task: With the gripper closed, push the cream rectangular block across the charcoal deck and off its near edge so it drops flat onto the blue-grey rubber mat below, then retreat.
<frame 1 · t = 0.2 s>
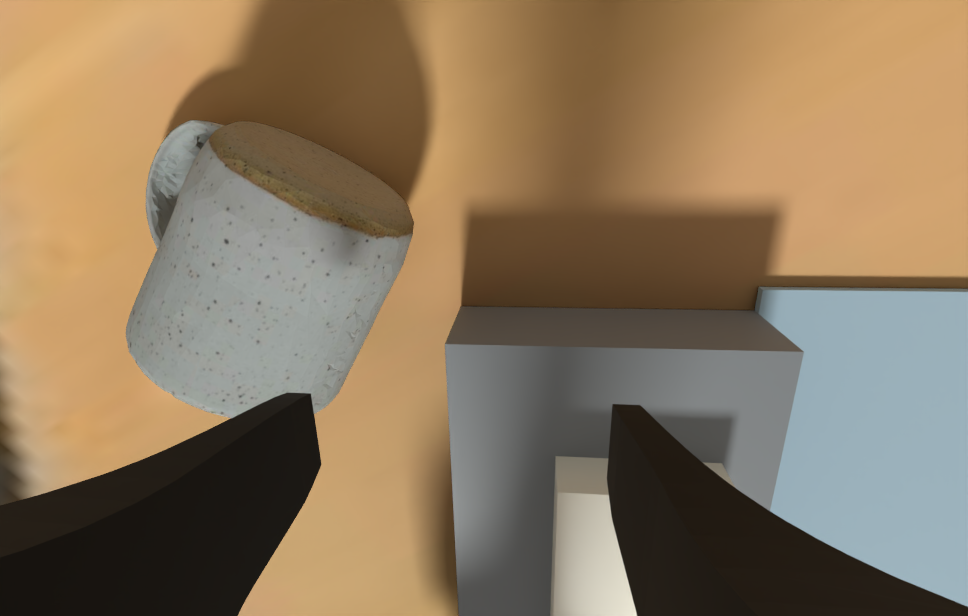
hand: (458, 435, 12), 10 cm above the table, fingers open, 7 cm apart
ceramic mug: (295, 234, 21), on the table
deck: (592, 485, 24), on the table
mat: (872, 499, 23), on the table
cream rectangular block: (628, 553, 20), point 4 cm above the table, touching deck
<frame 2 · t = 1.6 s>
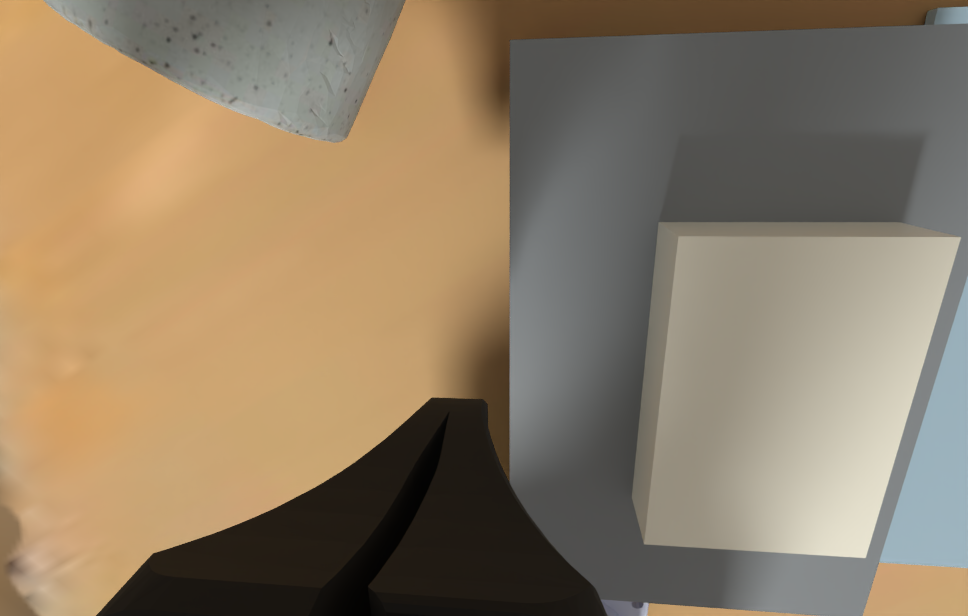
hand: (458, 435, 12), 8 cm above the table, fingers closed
deck: (677, 326, 18), on the table
cream rectangular block: (749, 376, 15), point 4 cm above the table, touching deck
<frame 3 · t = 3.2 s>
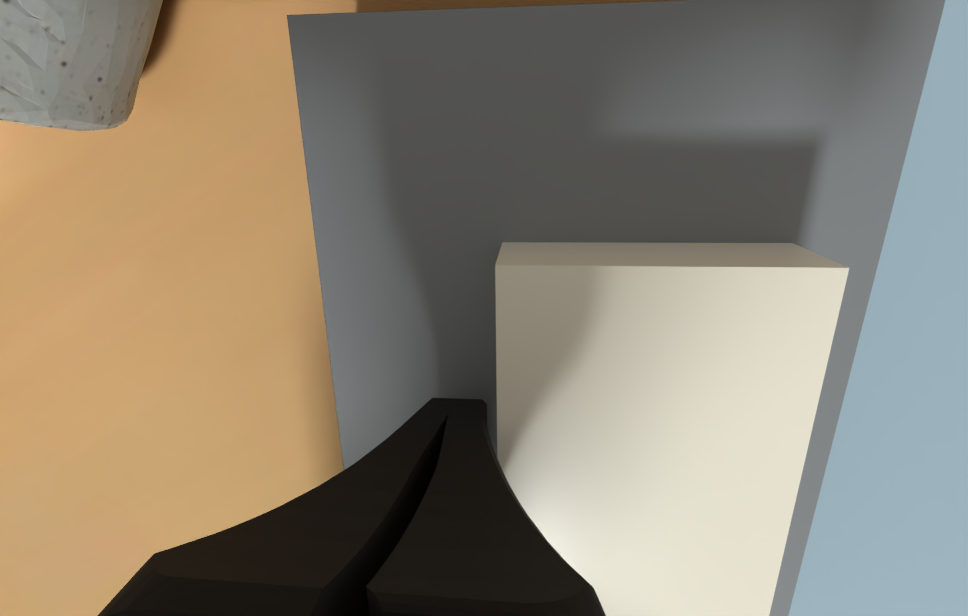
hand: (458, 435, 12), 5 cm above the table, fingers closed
deck: (565, 355, 16), on the table
cream rectangular block: (627, 425, 12), point 4 cm above the table, touching deck, gripper
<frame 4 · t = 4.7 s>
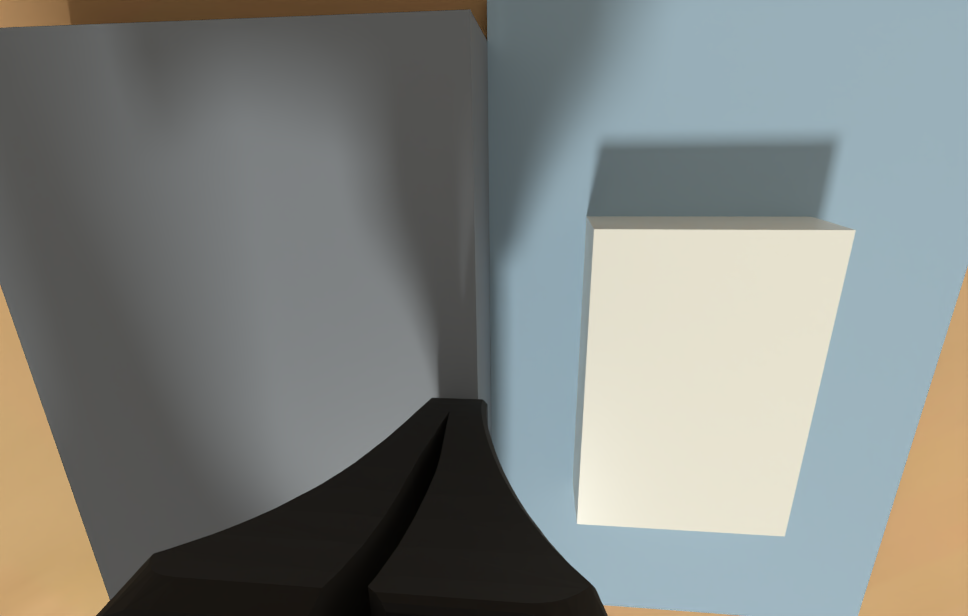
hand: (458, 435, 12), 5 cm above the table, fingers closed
deck: (314, 348, 17), on the table
mat: (699, 359, 16), on the table
cream rectangular block: (697, 396, 13), point 2 cm above the table, tilted 180°, touching mat
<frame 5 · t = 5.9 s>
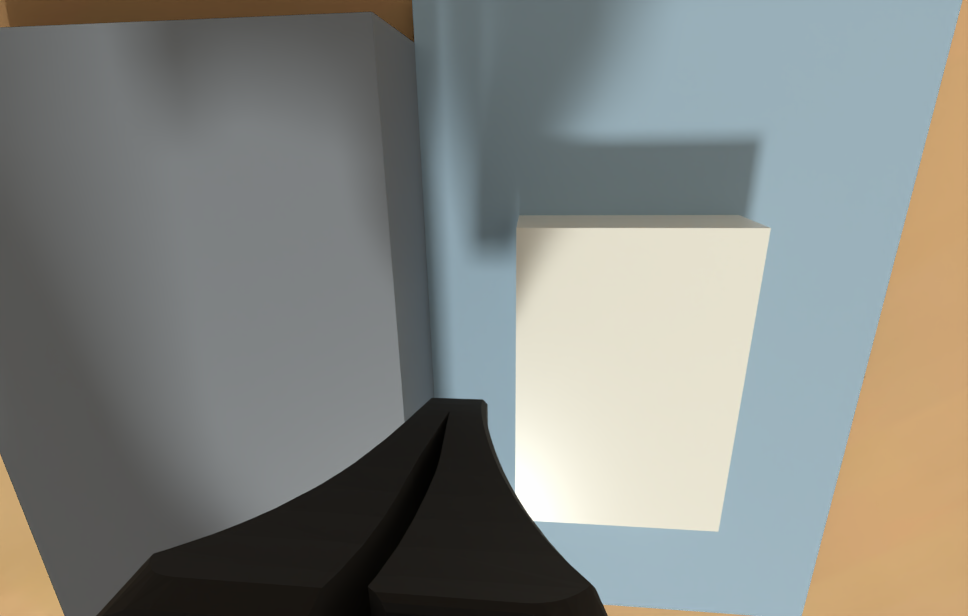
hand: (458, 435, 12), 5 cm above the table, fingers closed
deck: (260, 347, 17), on the table
mat: (637, 357, 16), on the table
cream rectangular block: (626, 393, 14), point 2 cm above the table, tilted 180°, touching mat
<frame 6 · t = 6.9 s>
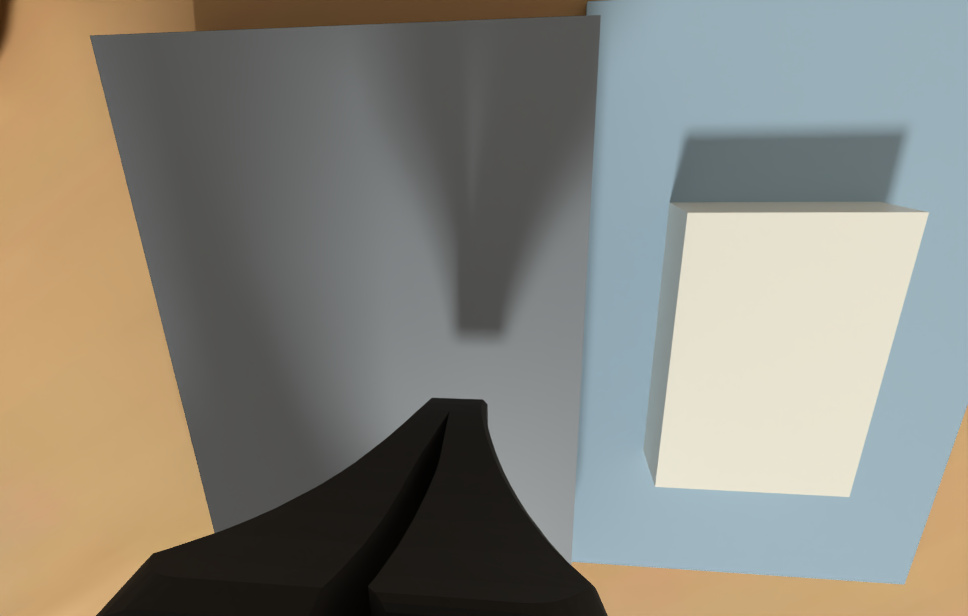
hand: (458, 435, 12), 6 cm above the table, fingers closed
deck: (404, 327, 18), on the table
mat: (766, 336, 17), on the table
cream rectangular block: (775, 366, 15), point 2 cm above the table, tilted 180°, touching mat
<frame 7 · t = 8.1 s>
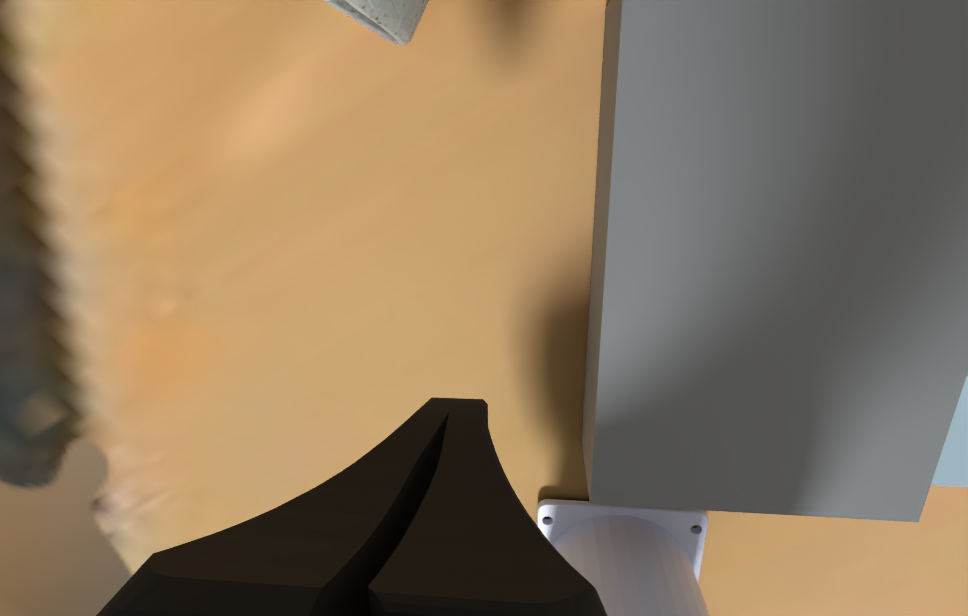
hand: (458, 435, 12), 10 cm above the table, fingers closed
deck: (744, 258, 20), on the table
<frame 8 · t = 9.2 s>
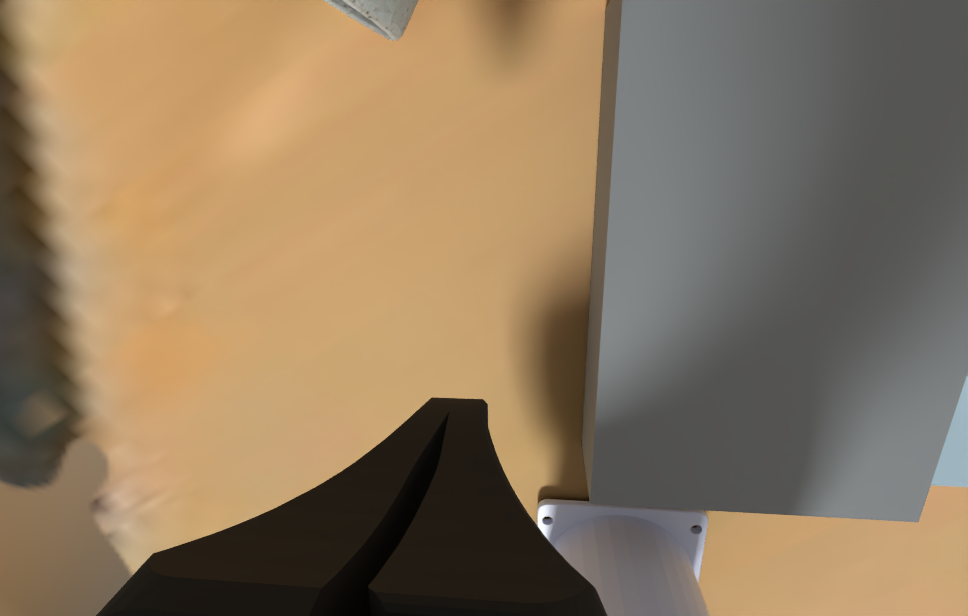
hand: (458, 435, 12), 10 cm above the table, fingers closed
deck: (744, 258, 20), on the table
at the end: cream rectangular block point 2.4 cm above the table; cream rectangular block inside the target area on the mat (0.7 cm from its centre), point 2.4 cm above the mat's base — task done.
